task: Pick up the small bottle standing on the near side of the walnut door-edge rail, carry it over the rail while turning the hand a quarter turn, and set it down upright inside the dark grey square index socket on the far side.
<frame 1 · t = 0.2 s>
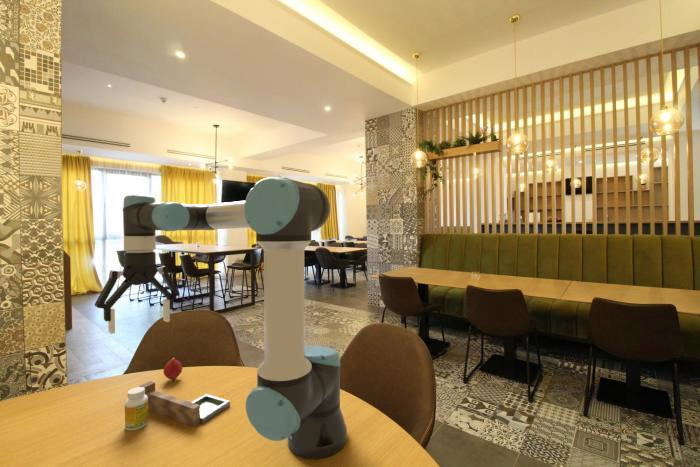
hand: (140, 326, 92), 26 cm above the table, fingers open, 13 cm apart
index socket: (204, 410, 97), on the table
onion: (173, 380, 116), on the table
door edge rail: (171, 415, 94), on the table
supplement bottle: (136, 425, 90), on the table
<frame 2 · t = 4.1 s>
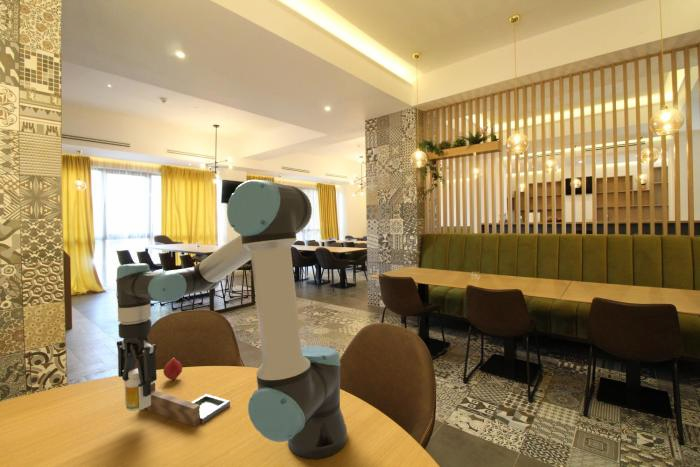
hand: (138, 404, 89), 6 cm above the table, fingers closed on supplement bottle, 5 cm apart
supplement bottle: (138, 406, 89), point 5 cm above the table, touching gripper
everything else where it was.
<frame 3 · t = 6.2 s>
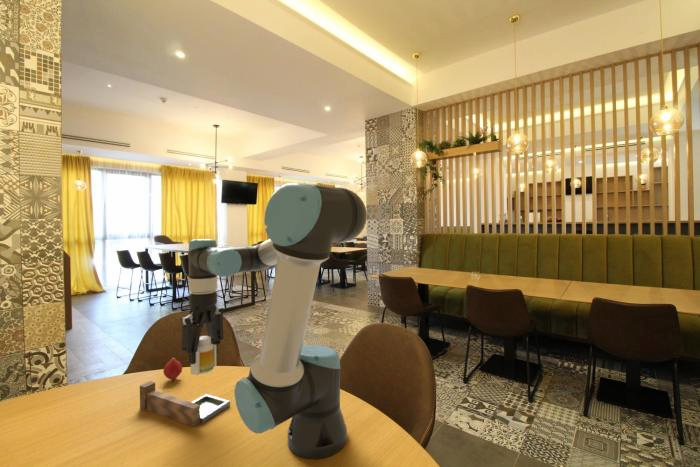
hand: (203, 369, 97), 12 cm above the table, fingers closed on supplement bottle, 5 cm apart
supplement bottle: (203, 371, 97), point 12 cm above the table, touching gripper
everything else where it was.
when the fingers open (2 cm above the table, at t = 8.2 s): supplement bottle drops 2 cm, resting on index socket.
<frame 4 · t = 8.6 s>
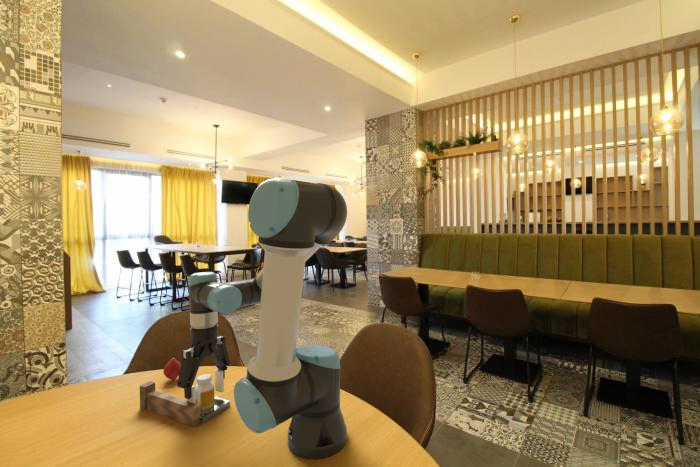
hand: (206, 399, 97), 3 cm above the table, fingers open, 10 cm apart
supplement bottle: (204, 409, 97), resting on index socket
everything else where it was.
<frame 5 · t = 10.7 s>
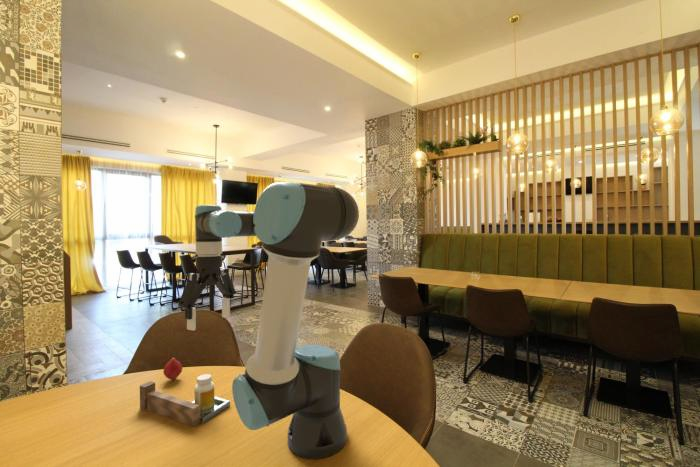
hand: (209, 323, 102), 24 cm above the table, fingers open, 13 cm apart
nothing on the table moved.
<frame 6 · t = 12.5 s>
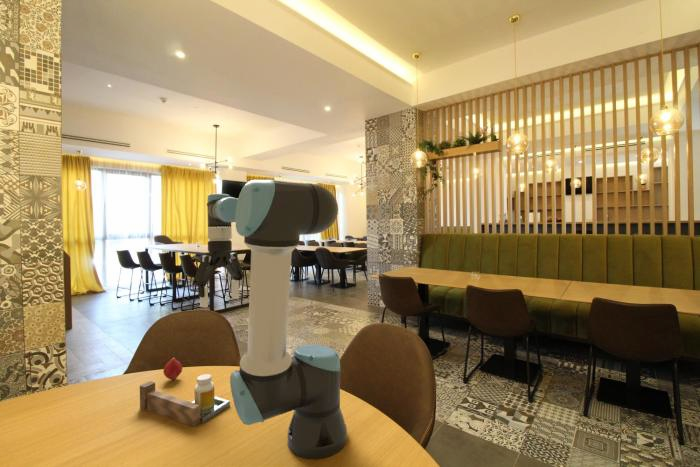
hand: (220, 302, 111), 29 cm above the table, fingers open, 13 cm apart
nothing on the table moved.
at the end: supplement bottle 0.0 cm from the index socket (horizontally); supplement bottle tilted 0°; the gripper is holding nothing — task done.
